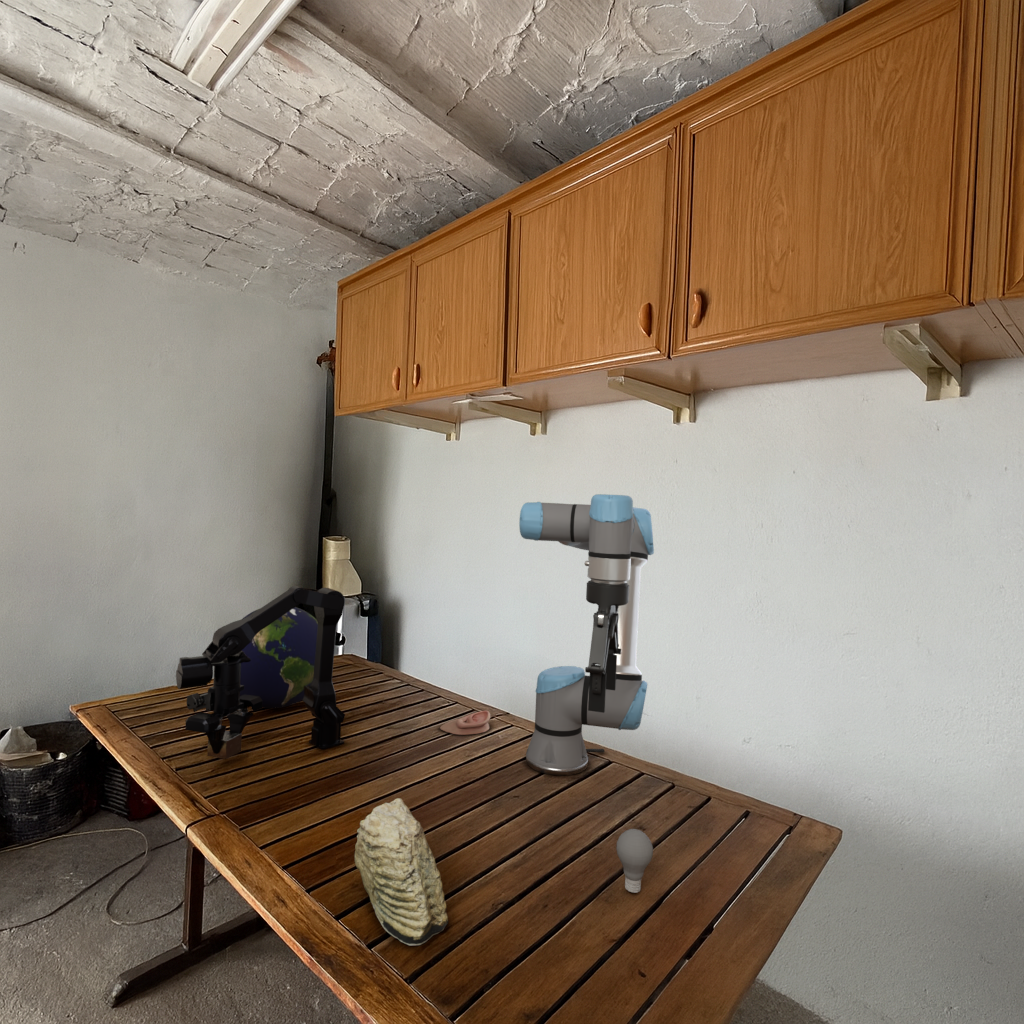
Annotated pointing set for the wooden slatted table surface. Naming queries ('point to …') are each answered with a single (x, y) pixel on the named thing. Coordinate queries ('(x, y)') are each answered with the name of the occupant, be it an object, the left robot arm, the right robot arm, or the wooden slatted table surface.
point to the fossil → (400, 874)
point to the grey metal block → (227, 745)
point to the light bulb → (634, 857)
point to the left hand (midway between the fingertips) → (224, 749)
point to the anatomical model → (468, 724)
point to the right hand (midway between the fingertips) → (602, 699)
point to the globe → (281, 660)
